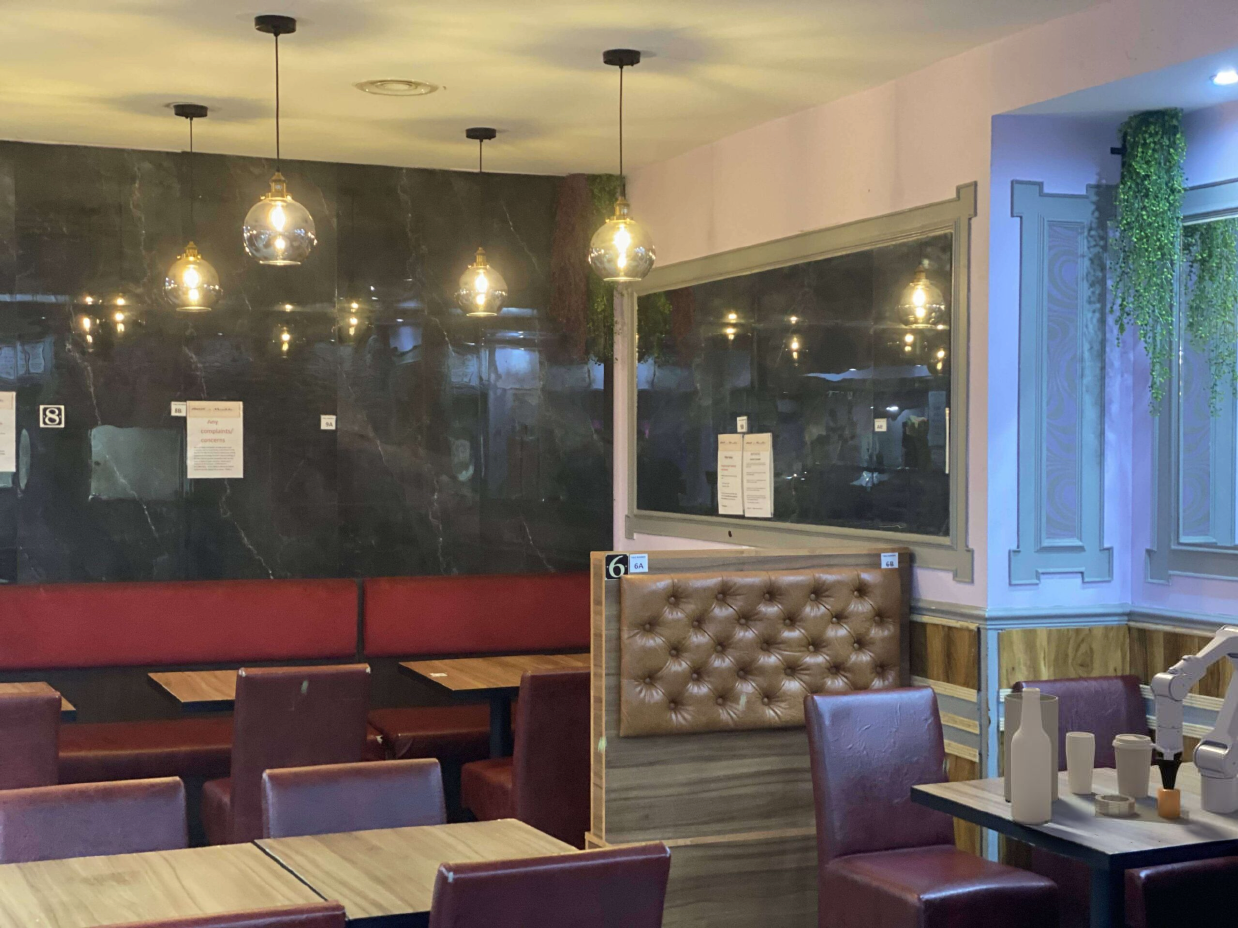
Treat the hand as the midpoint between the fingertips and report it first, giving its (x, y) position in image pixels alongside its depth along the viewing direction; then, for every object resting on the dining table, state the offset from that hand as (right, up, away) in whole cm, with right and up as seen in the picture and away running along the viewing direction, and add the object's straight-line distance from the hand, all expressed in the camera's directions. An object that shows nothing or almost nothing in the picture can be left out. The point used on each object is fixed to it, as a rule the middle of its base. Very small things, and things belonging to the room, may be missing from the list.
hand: (1168, 785), depth 327 cm
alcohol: (-31, -8, 0) cm, 32 cm away
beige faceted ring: (-11, -7, +4) cm, 13 cm away
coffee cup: (-1, -8, +21) cm, 22 cm away
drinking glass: (-12, -8, +25) cm, 29 cm away
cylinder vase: (-26, -8, +19) cm, 33 cm away
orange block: (0, -7, 0) cm, 7 cm away
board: (-5, -8, +2) cm, 10 cm away
